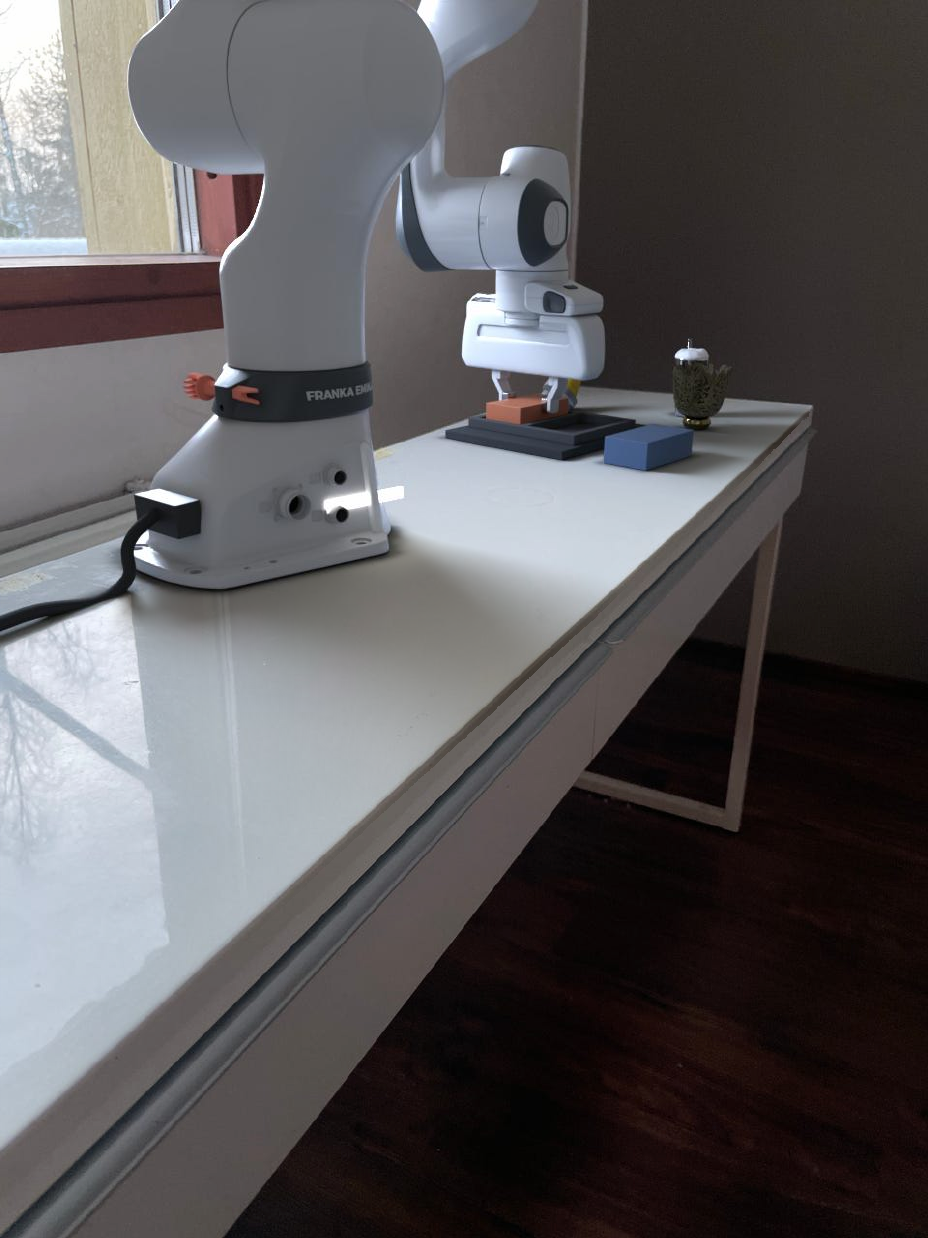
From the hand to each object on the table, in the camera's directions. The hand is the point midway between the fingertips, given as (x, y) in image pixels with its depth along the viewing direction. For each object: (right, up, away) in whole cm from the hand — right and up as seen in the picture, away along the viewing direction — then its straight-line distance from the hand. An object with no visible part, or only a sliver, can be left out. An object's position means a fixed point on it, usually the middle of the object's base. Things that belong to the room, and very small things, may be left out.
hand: (528, 409), depth 121 cm
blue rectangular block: (+13, -9, -13) cm, 20 cm away
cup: (+22, -2, +4) cm, 23 cm away
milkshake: (+23, +2, +13) cm, 27 cm away
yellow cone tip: (+6, +3, +16) cm, 17 cm away
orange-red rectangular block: (0, -2, +1) cm, 2 cm away
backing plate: (+3, -4, -1) cm, 5 cm away
